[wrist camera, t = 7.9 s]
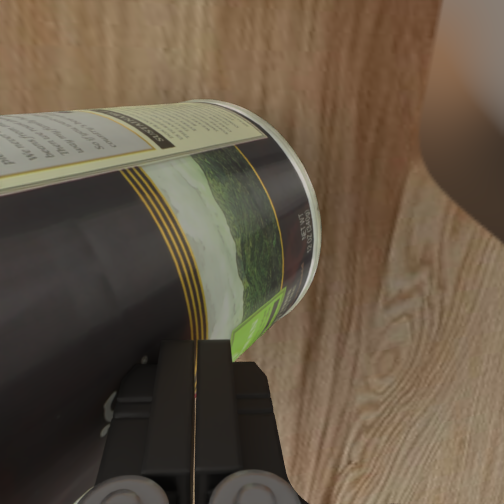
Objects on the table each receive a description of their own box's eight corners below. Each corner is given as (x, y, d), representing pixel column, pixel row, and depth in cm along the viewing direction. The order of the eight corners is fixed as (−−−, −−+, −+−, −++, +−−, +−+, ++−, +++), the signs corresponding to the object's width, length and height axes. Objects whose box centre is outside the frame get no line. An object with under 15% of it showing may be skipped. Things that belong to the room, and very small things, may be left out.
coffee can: (380, 228, 16) (30, 579, 5) (230, 366, 22) (-88, 671, 11) (190, 36, 18) (-423, -28, 6) (96, 213, 24) (-311, 343, 12)
